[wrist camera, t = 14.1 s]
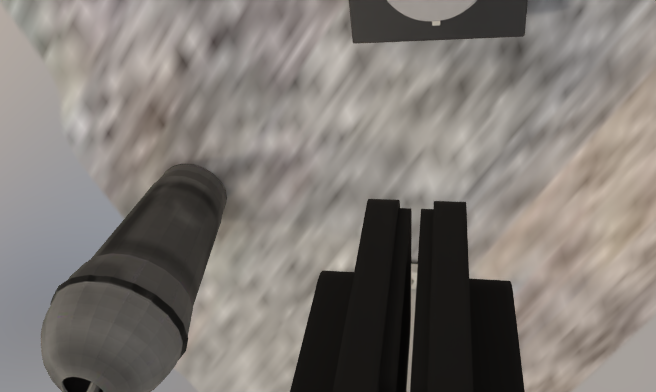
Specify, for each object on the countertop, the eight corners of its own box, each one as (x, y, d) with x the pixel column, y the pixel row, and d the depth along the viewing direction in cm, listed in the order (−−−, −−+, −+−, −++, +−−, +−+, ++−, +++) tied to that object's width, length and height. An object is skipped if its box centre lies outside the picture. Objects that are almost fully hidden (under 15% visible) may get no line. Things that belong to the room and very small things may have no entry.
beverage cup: (227, 140, 37) (65, 440, 21) (259, 230, 41) (143, 535, 26) (123, 151, 39) (-95, 434, 23) (164, 235, 43) (2, 523, 28)
